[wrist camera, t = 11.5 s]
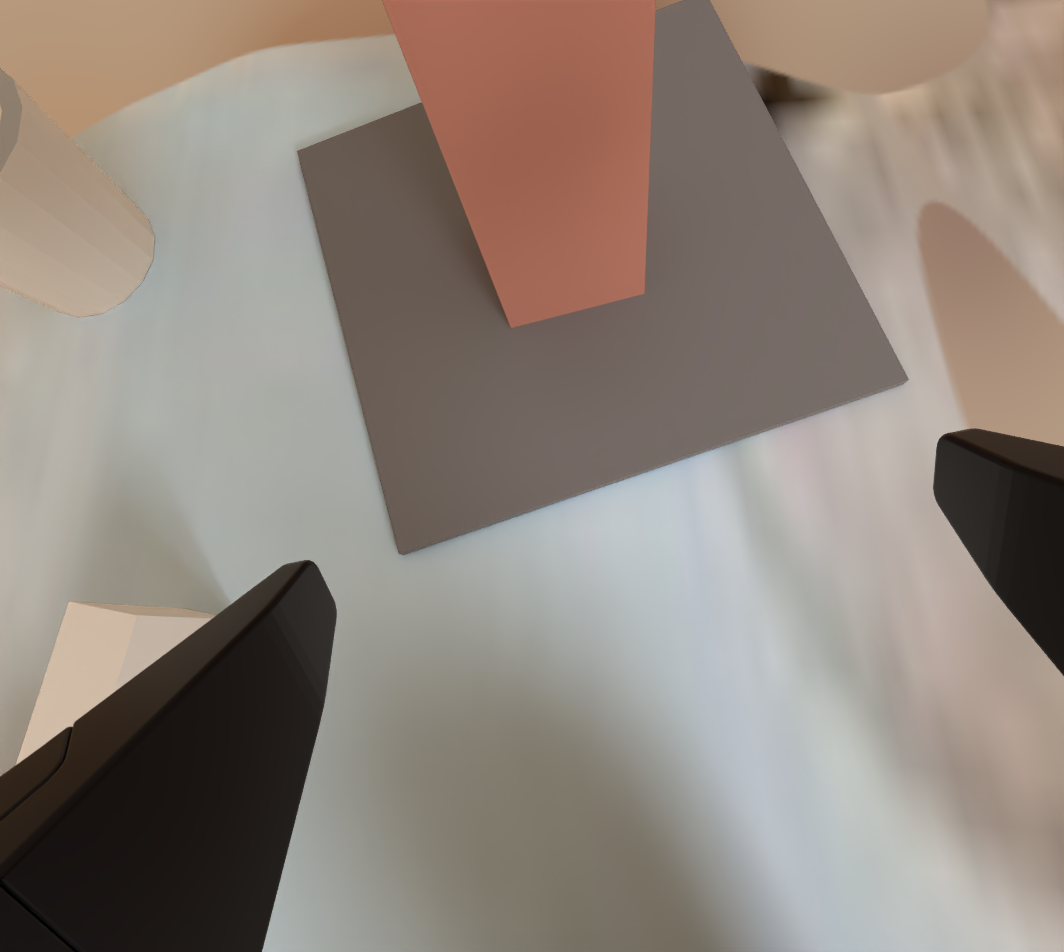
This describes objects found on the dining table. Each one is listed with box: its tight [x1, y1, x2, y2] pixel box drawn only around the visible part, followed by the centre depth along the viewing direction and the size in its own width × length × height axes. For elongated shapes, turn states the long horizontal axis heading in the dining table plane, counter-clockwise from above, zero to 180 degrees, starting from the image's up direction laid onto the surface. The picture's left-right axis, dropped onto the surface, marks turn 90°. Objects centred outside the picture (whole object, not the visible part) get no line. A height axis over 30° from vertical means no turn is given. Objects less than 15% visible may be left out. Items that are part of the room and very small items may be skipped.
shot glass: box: [0, 69, 155, 317], centre depth 24 cm, size 7×7×7 cm
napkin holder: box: [16, 602, 216, 765], centre depth 20 cm, size 15×11×6 cm
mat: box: [297, 0, 909, 555], centre depth 24 cm, size 18×18×1 cm
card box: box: [382, 0, 656, 328], centre depth 18 cm, size 5×5×13 cm
